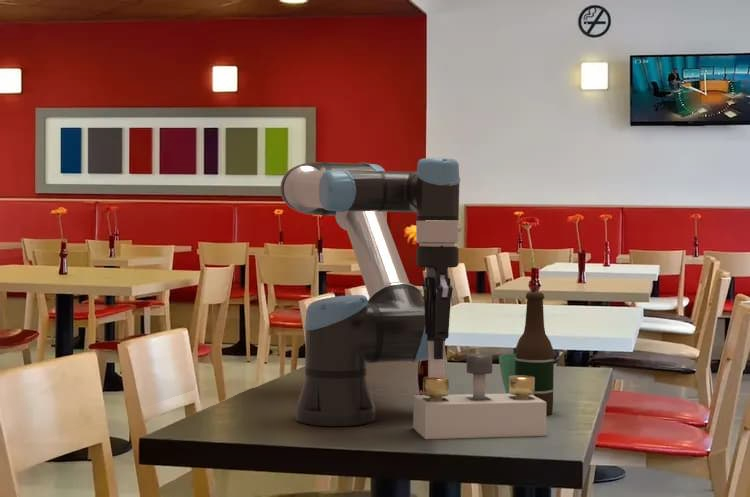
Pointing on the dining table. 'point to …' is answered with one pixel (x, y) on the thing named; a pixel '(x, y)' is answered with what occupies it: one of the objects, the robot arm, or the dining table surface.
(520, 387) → the knob right
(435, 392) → the knob left
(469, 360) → the knob mid
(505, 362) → the mug
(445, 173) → the robot arm
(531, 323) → the beer bottle
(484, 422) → the panel
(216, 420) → the dining table surface
